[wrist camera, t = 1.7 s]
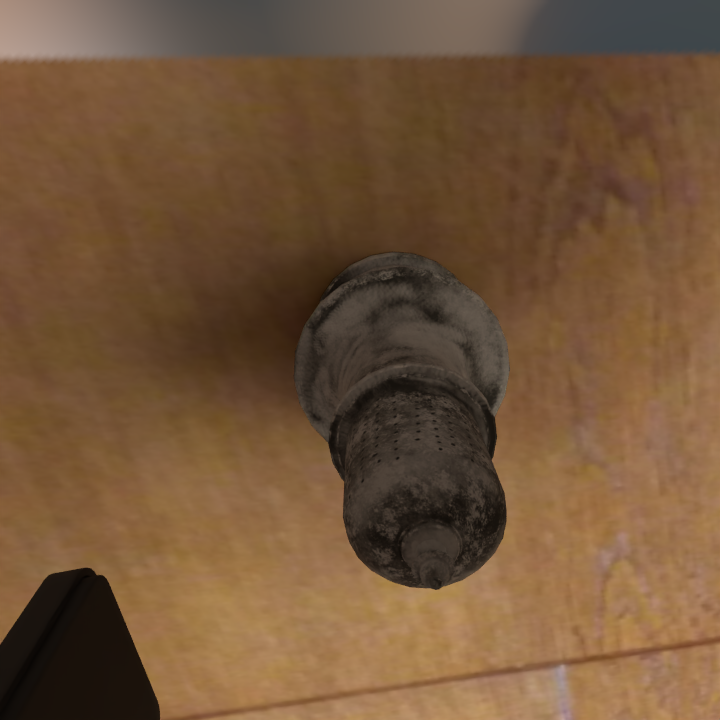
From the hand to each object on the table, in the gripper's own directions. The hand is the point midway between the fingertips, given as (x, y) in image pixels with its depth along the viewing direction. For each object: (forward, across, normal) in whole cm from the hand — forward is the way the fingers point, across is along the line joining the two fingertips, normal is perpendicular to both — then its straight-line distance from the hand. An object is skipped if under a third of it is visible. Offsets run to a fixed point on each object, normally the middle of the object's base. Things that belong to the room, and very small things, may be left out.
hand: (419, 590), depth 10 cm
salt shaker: (+12, 0, 0) cm, 12 cm away
